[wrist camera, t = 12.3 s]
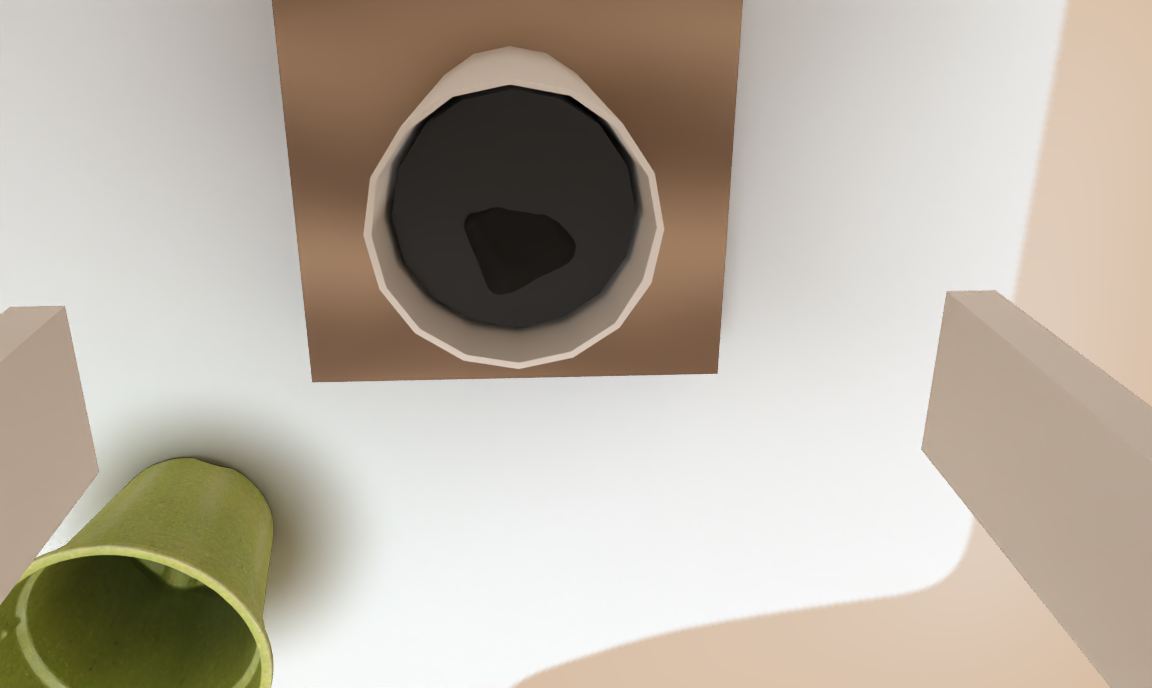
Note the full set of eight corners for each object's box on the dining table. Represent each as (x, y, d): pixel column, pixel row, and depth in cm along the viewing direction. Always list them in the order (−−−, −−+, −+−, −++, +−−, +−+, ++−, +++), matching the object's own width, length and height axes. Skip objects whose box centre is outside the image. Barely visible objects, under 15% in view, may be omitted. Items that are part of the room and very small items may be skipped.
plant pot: (360, 559, 42) (325, 709, 34) (169, 648, 43) (92, 814, 35) (232, 380, 38) (160, 500, 30) (28, 482, 39) (-94, 624, 31)
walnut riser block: (286, -130, 31) (257, -138, 28) (723, -126, 32) (751, -132, 29) (331, 337, 38) (312, 382, 34) (696, 330, 38) (717, 373, 35)
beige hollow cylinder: (648, 194, 32) (705, 303, 23) (461, 274, 33) (443, 410, 24) (568, -6, 30) (597, 25, 20) (367, 84, 30) (307, 153, 21)
